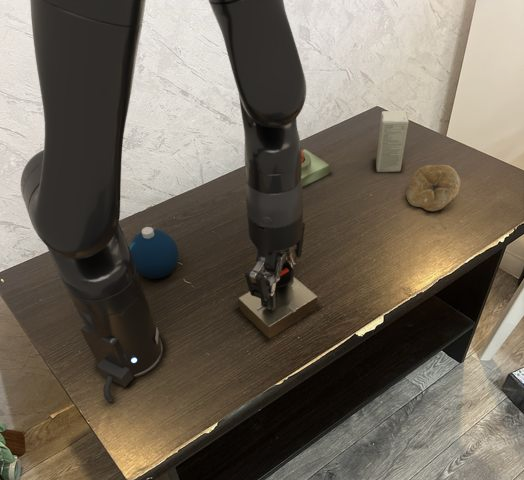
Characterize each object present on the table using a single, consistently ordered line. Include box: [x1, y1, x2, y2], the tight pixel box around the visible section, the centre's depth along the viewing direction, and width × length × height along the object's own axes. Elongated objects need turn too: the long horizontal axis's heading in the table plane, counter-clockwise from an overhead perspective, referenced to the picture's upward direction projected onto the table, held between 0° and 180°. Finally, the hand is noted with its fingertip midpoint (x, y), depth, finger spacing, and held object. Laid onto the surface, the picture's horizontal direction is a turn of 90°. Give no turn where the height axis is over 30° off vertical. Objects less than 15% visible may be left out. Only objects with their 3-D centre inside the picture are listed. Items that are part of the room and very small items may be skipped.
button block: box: [301, 148, 330, 188], centre depth 105 cm, size 12×8×4 cm, turn 126°
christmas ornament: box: [129, 226, 179, 279], centre depth 86 cm, size 8×8×10 cm
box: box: [375, 110, 410, 173], centre depth 103 cm, size 5×4×11 cm
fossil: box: [405, 164, 462, 212], centre depth 97 cm, size 9×4×10 cm
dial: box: [265, 268, 291, 307], centre depth 79 cm, size 4×4×5 cm
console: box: [238, 276, 318, 340], centre depth 82 cm, size 10×9×3 cm
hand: (277, 295), depth 81 cm, fingers open, 5 cm apart
